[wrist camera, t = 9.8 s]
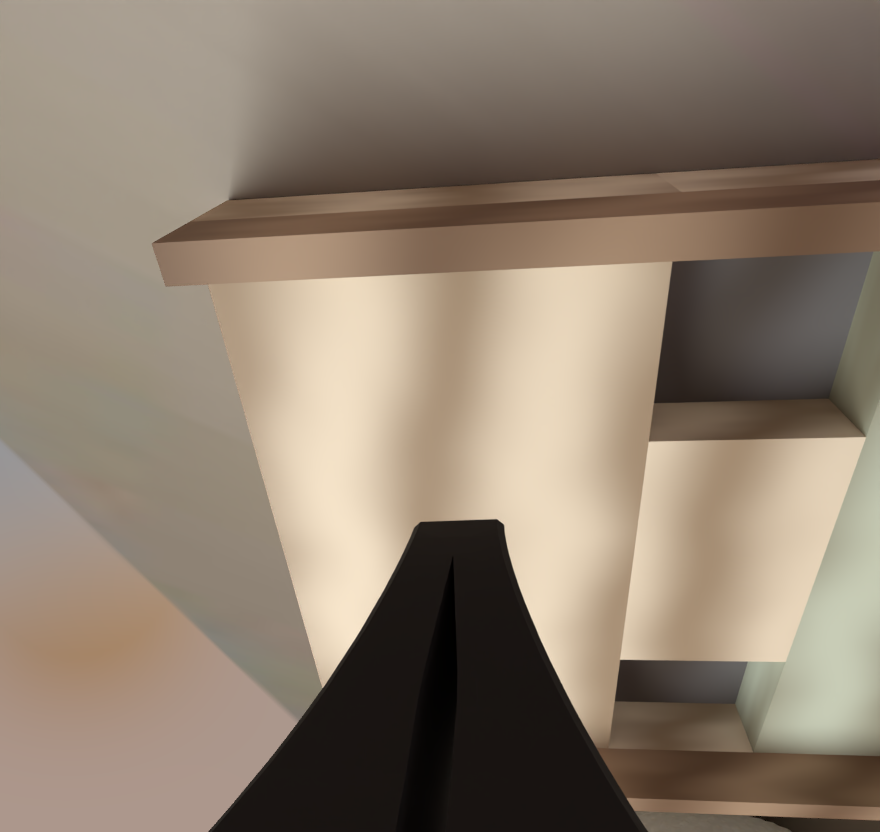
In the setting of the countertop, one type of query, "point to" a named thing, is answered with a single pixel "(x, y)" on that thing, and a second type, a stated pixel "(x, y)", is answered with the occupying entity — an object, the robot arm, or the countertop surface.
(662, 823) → the cereal bowl
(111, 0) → the countertop surface
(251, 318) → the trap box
